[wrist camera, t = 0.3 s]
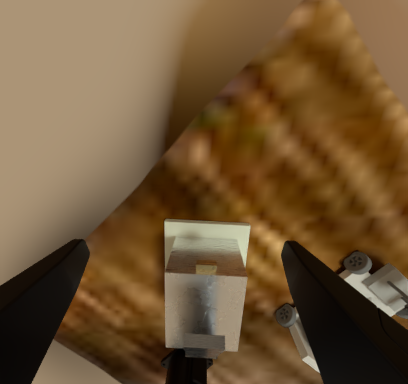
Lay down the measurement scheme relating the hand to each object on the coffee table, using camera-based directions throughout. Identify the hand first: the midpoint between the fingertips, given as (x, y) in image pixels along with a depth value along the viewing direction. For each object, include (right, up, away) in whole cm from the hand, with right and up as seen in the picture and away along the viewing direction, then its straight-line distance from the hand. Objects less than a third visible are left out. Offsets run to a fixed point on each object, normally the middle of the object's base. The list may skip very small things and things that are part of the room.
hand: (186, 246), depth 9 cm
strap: (+1, -11, +9) cm, 15 cm away
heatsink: (+1, -8, +19) cm, 21 cm away
